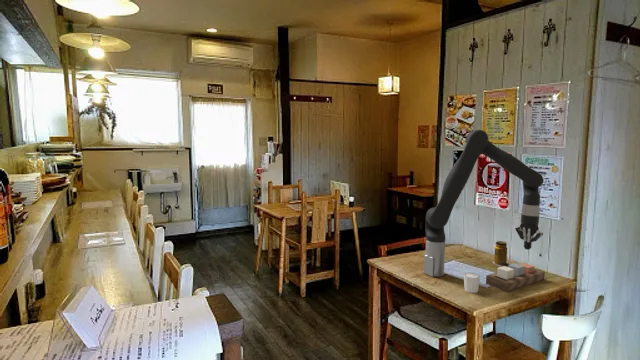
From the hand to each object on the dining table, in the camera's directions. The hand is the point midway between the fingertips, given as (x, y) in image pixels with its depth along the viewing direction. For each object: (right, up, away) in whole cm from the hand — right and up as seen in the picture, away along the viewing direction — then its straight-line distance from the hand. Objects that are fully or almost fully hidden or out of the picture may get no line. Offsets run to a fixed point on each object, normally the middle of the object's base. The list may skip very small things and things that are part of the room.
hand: (527, 249), depth 183 cm
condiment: (-1, -12, +23) cm, 26 cm away
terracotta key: (0, -12, +2) cm, 12 cm away
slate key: (-7, -11, -2) cm, 13 cm away
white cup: (-31, -17, -11) cm, 37 cm away
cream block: (-14, -12, -6) cm, 19 cm away
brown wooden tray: (-7, -15, -2) cm, 17 cm away
